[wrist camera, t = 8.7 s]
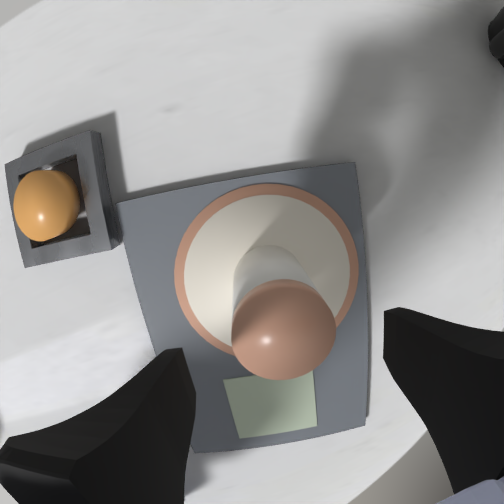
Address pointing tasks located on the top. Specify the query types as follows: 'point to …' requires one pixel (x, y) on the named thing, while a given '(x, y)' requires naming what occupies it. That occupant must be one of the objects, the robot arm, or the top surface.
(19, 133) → the top surface
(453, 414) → the robot arm
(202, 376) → the picture board
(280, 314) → the white and brown cylinder
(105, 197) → the button housing
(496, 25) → the black oval cup
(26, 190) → the button
